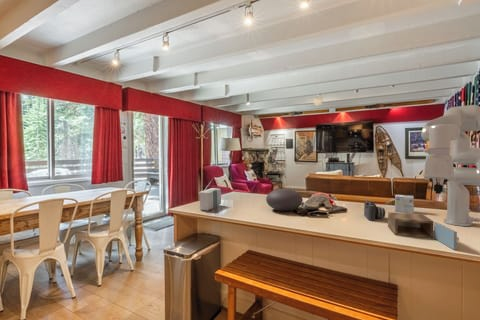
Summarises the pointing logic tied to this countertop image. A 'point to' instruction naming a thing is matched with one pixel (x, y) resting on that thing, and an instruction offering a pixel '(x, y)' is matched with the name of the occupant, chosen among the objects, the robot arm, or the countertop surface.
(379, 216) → the camera
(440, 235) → the case door
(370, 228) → the countertop surface
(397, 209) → the light bulb box
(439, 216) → the countertop surface
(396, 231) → the walnut case
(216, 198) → the stereo radio cassette player
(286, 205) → the smooth stone
